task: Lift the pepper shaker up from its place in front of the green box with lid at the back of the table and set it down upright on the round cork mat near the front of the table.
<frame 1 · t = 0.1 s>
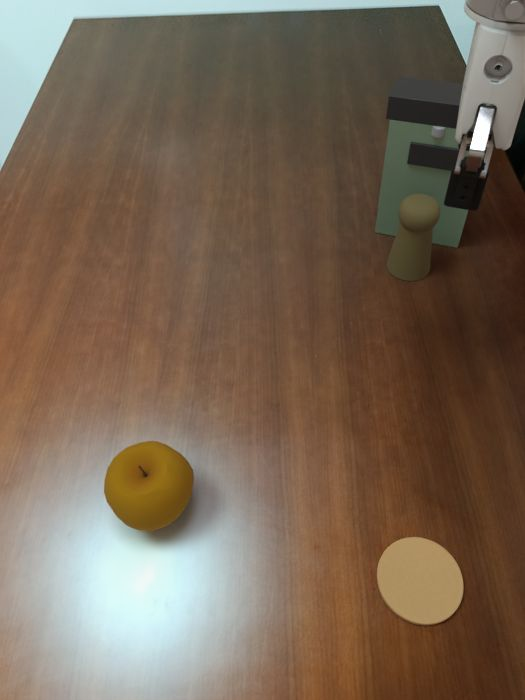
hand: (467, 177, 59), 21 cm above the table, tool pointing down, fingers open, 9 cm apart
green box with lid: (418, 229, 86), on the table
apple: (159, 505, 61), on the table
pepper shaker: (407, 266, 81), on the table
cork mat: (418, 580, 55), on the table
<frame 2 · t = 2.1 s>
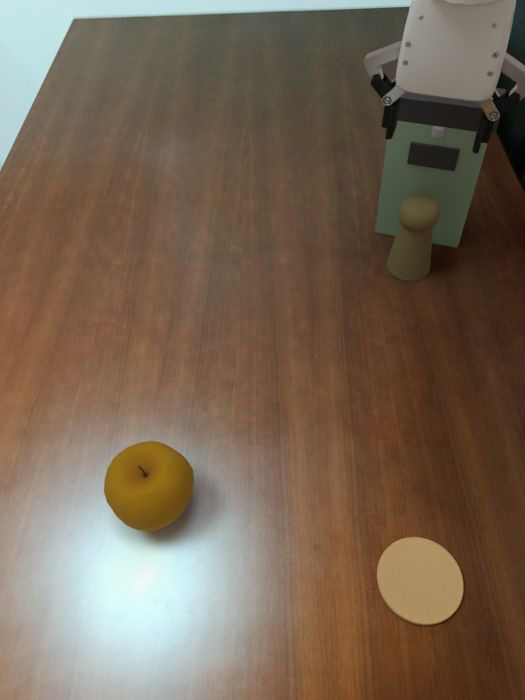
hand: (432, 139, 66), 20 cm above the table, tool pointing down, fingers open, 9 cm apart
nothing on the table moved.
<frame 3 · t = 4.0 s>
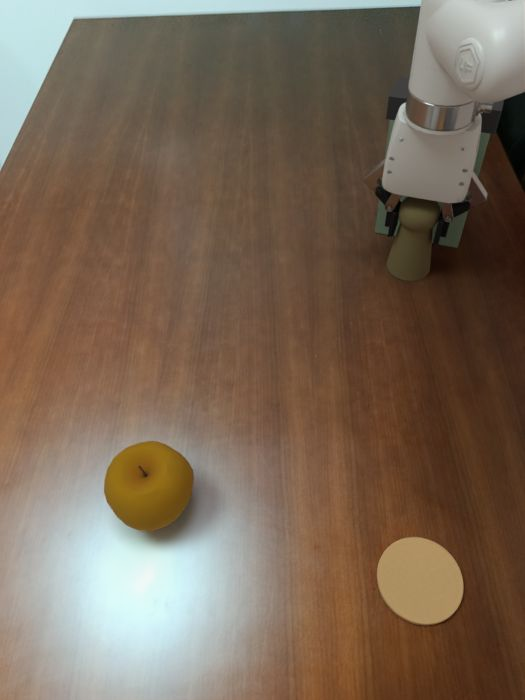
hand: (414, 233, 77), 6 cm above the table, tool pointing down, fingers closed on pepper shaker, 5 cm apart
pepper shaker: (407, 266, 81), on the table, touching gripper
everything else where it was.
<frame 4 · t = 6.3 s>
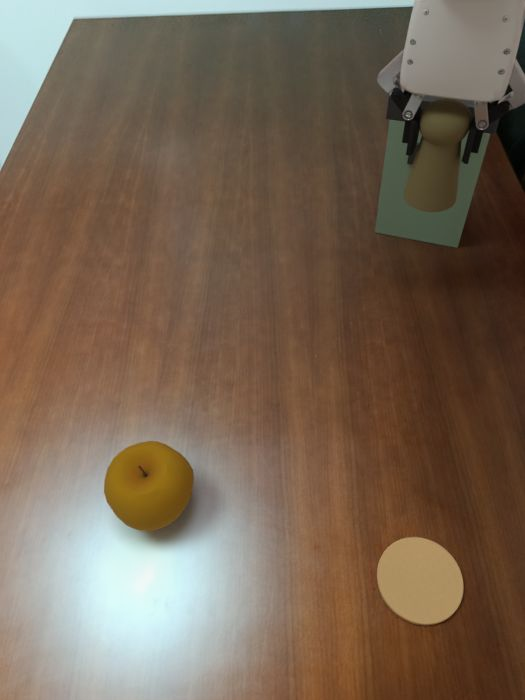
hand: (438, 151, 63), 21 cm above the table, tool pointing down, fingers closed on pepper shaker, 5 cm apart
pepper shaker: (429, 197, 68), point 15 cm above the table, touching gripper
everything else where it was.
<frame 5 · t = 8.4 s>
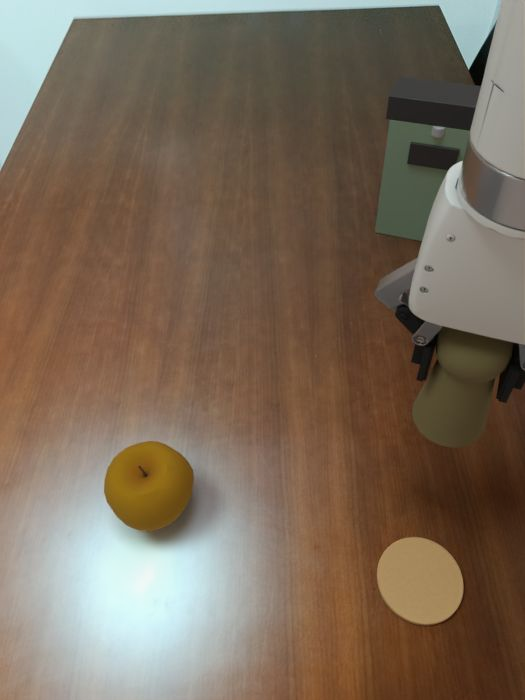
hand: (463, 375, 44), 21 cm above the table, tool pointing down, fingers closed on pepper shaker, 5 cm apart
pepper shaker: (448, 416, 49), point 15 cm above the table, touching gripper
everything else where it was.
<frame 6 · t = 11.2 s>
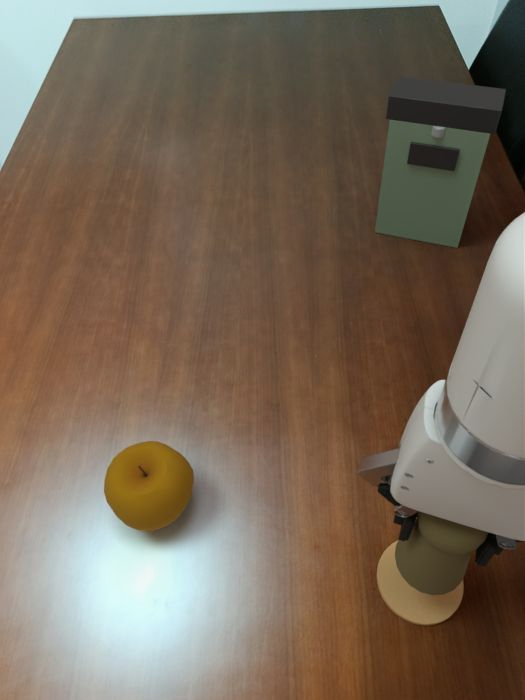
hand: (443, 534, 46), 12 cm above the table, tool pointing down, fingers closed on pepper shaker, 5 cm apart
pepper shaker: (429, 559, 51), point 6 cm above the table, touching gripper
everything else where it was.
when the fingers open (6 cm above the table, at t = 13.0 s): pepper shaker stays where it is, resting on cork mat.
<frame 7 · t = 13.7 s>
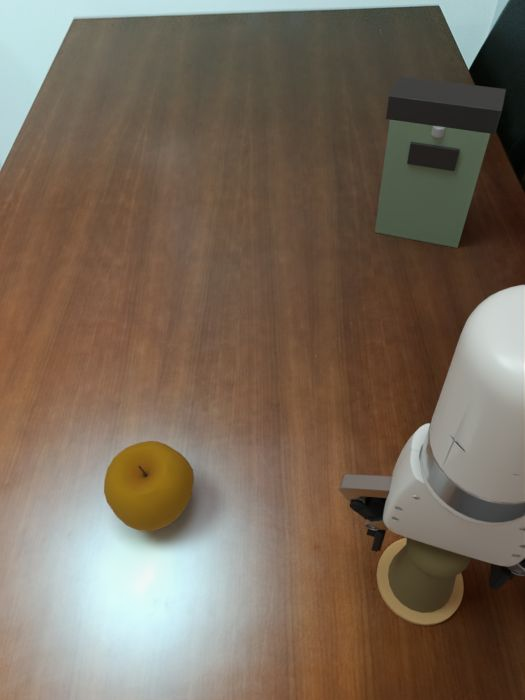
hand: (435, 552, 49), 8 cm above the table, tool pointing down, fingers open, 9 cm apart
pepper shaker: (419, 579, 55), resting on cork mat
everything else where it was.
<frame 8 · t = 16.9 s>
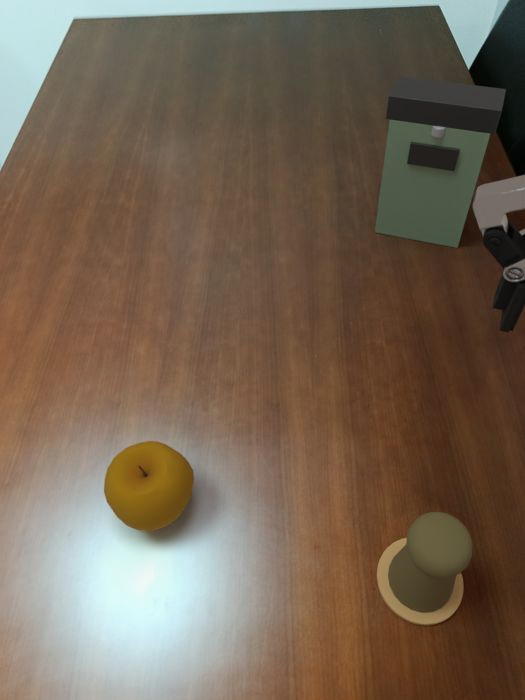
nothing on the table moved.
at the end: pepper shaker 0.0 cm off-centre on the cork mat, point 0.4 cm above the cork mat's base; pepper shaker tilted 0°; the gripper is holding nothing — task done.
